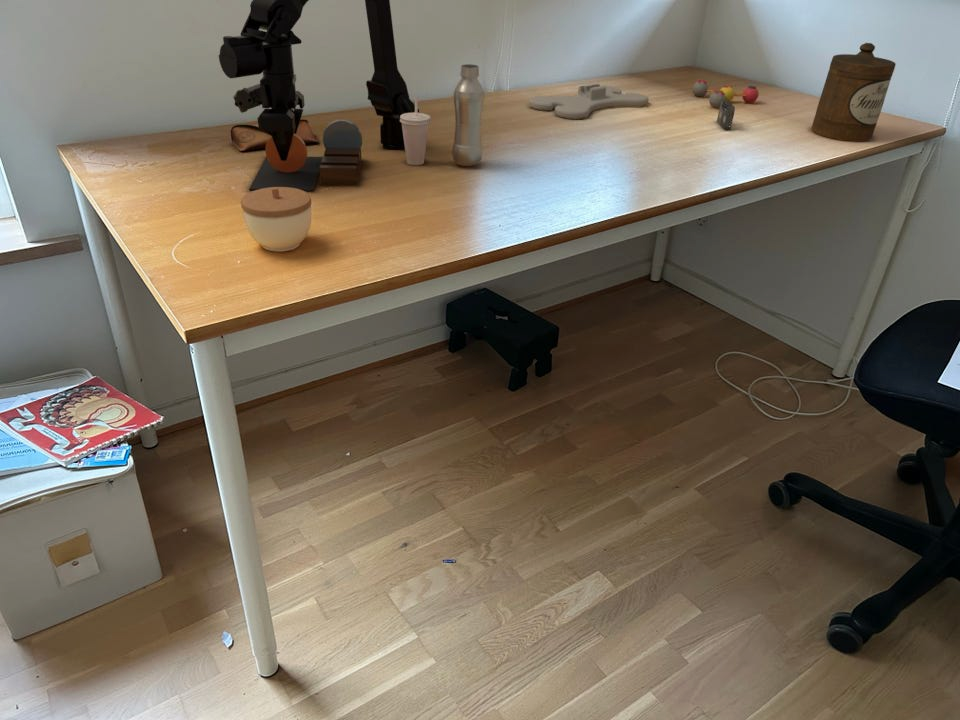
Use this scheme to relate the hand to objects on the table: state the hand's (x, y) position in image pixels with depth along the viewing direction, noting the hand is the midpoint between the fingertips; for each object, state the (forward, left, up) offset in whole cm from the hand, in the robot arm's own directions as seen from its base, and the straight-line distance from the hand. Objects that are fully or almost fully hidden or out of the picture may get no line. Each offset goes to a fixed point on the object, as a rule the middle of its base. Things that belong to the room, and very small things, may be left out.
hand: (286, 153), depth 145 cm
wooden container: (-136, -38, -4) cm, 142 cm away
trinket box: (-3, +34, -4) cm, 35 cm away
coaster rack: (-10, -2, -4) cm, 11 cm away
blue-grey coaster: (-10, -7, +1) cm, 13 cm away
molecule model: (-117, -69, -4) cm, 136 cm away
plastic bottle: (-36, -8, -4) cm, 37 cm away
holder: (-74, -62, -4) cm, 97 cm away
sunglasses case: (+6, -21, -4) cm, 22 cm away
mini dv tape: (-106, -43, -4) cm, 115 cm away
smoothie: (-25, -9, -4) cm, 27 cm away
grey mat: (0, 0, -4) cm, 4 cm away
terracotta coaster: (0, 0, 0) cm, 0 cm away
